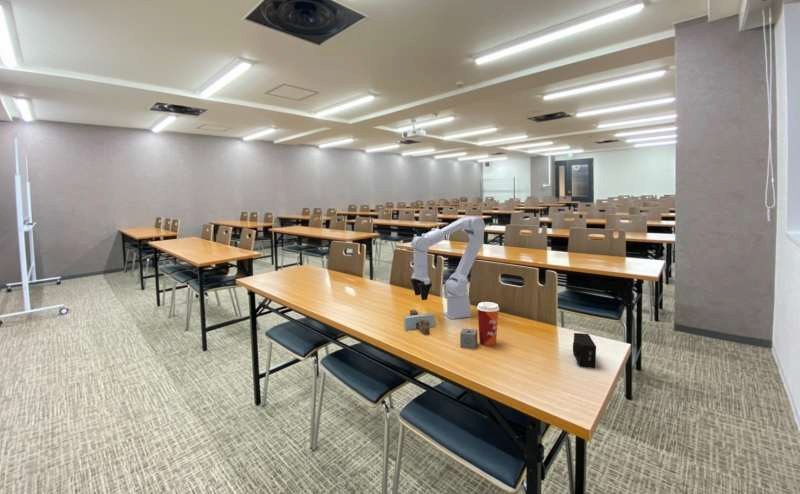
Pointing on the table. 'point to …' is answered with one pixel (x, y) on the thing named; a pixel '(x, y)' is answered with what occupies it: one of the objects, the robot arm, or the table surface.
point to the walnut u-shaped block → (421, 323)
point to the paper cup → (487, 322)
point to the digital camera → (584, 350)
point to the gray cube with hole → (468, 338)
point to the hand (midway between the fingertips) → (421, 297)
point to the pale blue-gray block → (417, 320)
